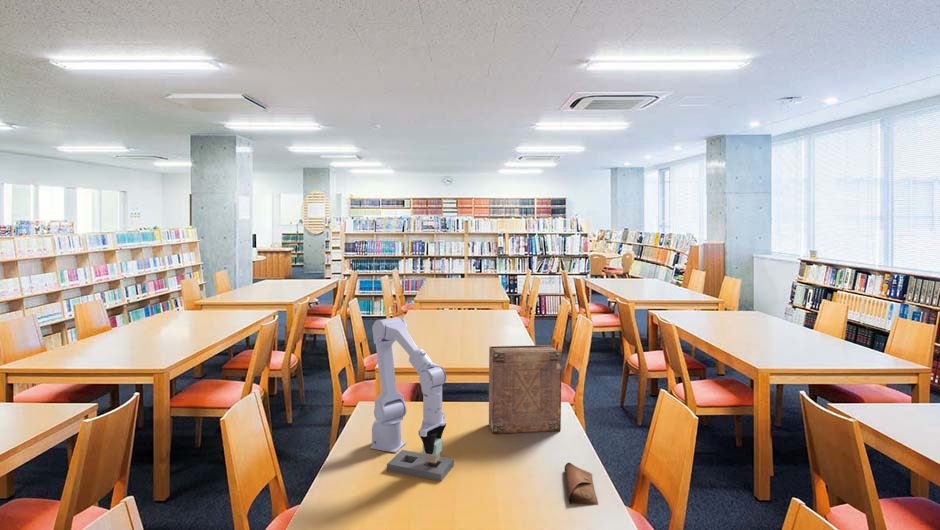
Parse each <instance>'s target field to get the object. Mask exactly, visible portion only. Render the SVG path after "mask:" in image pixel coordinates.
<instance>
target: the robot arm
mask: <svg viewBox="0 0 940 530" xmlns="http://www.w3.org/2000/svg"><path fill="white" fill-rule="evenodd" d="M408 326H409V325H408V323H407V322H406V320H405V319H404V317H403V316H397V317H389V318H383V319H376V320H375V321H374V323H373V325H372V326H371V327H372V329H371V330H372V335H373V336H372V337H373V344H375V349H376V357H377V358H376V359H377V367H378V376H379V384H380V394H378V396H377V397H376V398H375V400H374V410H373V416H374V418H375V420H374V421H373V424H372V425H371V426H372V427H371V446H370V448H371V449H373V450H378V451H383V452H384V451H385V452H391V453H397V452H398V451H400V449H401V448H402V447H403V446H405V445H406V444H407V441H405V440H402V421H403V420H404V417H405V416H406V414H407V411H408V410H407V408H408V407H407V404H406V402H405V399H404V394H402V393H400V392H399V391H397V390H398V388H397V381H396V373H395V371H396V370H395V363H394V354H393V344H394V343H395V342H396V343H397V342H398V344H399V345H400V347H402V348H403V350H404V351H405V352H406V353H407V354H408V357H409V358H408V362H409V363H410V365H411V366H412V367H413V369H414V370H415V371H416V373H417V374H418V381H419V384H420V387H421V393H422V397H423V398H422V400H423V401H422V406H423V407H422V413H423V414H422V416H423V417H422V421H421V427H420V429H419V430H418V436H419V438H420V440H421V441H422V446H423V445H424V449H425V452H426V454H433V450H434V443H435V439H436V438H438V439H442V437H443V433H444V430H445V429H446V426H447V423H446V421H445V417H446V414H445V412H443V385H444V384H445V383H446V381H447V373H446V371H445V370H446V369H444V367H443V366H441V365H438V364H437V363H434V361H433V360H432V358H431V357H430V356H429V355H428V353H427V352H426V350H424V349H421V348H419V347H418V346H417V344H416V342H415V341H414V339H413V338H412V336H411V335H410V332H409V331H408V330H409V329H408Z"/></svg>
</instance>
